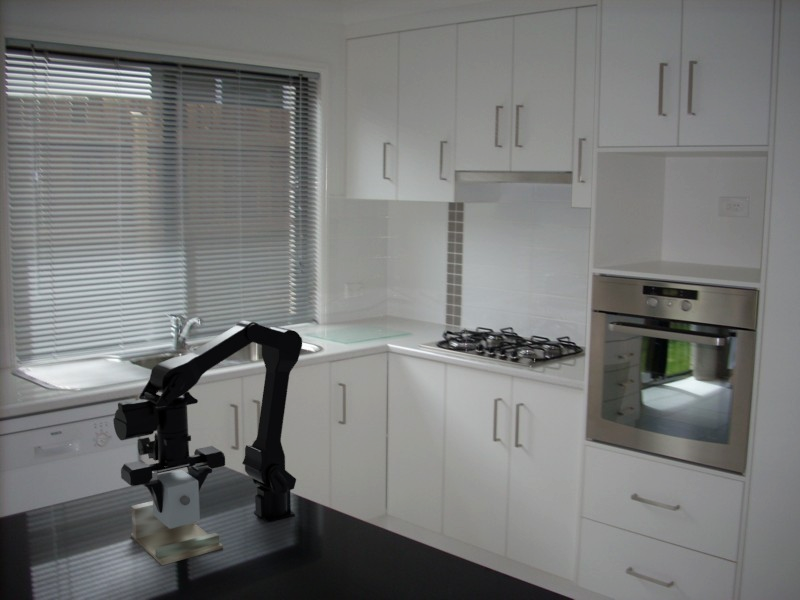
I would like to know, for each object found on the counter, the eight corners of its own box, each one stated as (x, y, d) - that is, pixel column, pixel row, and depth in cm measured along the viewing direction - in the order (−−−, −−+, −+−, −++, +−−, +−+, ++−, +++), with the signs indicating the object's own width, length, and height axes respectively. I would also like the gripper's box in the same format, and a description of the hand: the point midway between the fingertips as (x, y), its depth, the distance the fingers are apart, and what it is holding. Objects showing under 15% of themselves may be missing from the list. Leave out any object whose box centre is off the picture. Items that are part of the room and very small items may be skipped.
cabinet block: (183, 508, 169) (181, 469, 168) (202, 522, 162) (200, 482, 161) (153, 515, 166) (151, 475, 164) (171, 530, 158) (169, 489, 157)
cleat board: (188, 521, 175) (187, 490, 174) (222, 548, 163) (221, 515, 162) (130, 536, 168) (129, 504, 167) (162, 565, 155) (160, 530, 154)
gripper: (200, 412, 174) (203, 485, 176) (109, 428, 163) (113, 506, 165) (225, 424, 165) (227, 501, 167) (129, 442, 154) (133, 525, 156)
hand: (176, 508), depth 164 cm, fingers closed on cabinet block, 6 cm apart
